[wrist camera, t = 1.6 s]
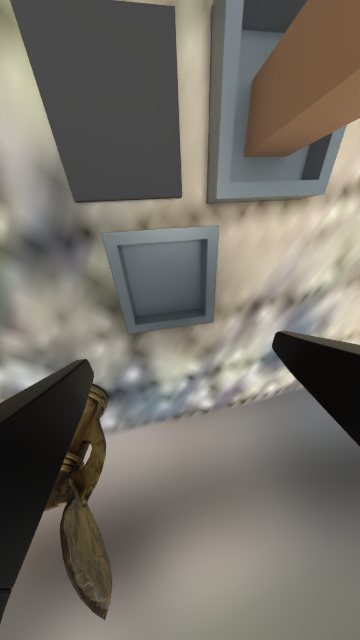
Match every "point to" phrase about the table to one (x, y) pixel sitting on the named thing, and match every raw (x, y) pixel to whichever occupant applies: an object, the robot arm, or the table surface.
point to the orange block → (307, 81)
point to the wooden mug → (84, 509)
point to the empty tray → (164, 276)
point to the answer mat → (108, 93)
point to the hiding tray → (233, 109)
